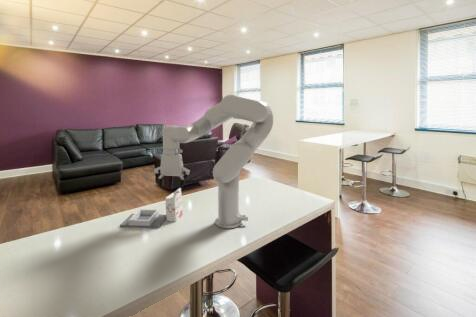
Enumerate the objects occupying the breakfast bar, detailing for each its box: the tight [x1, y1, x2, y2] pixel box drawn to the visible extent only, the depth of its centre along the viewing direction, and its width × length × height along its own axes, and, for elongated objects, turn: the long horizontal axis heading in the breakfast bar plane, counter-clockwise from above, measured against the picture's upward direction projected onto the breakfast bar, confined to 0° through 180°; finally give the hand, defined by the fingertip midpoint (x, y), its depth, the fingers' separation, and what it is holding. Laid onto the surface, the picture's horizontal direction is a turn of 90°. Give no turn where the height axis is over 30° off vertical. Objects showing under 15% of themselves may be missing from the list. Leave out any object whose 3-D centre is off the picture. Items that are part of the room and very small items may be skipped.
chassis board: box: [119, 208, 167, 229], centre depth 130 cm, size 18×13×4 cm
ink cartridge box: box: [164, 187, 183, 223], centre depth 133 cm, size 9×5×15 cm, turn 168°
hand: (172, 186), depth 132 cm, fingers open, 9 cm apart
